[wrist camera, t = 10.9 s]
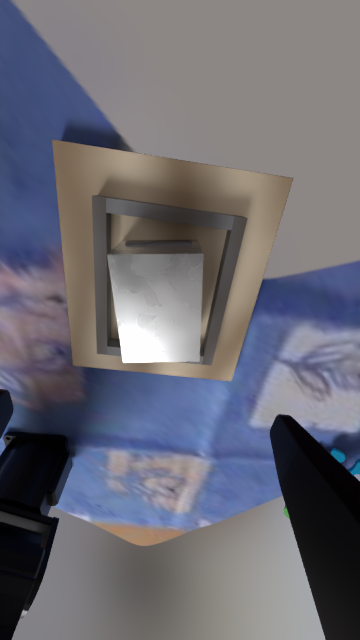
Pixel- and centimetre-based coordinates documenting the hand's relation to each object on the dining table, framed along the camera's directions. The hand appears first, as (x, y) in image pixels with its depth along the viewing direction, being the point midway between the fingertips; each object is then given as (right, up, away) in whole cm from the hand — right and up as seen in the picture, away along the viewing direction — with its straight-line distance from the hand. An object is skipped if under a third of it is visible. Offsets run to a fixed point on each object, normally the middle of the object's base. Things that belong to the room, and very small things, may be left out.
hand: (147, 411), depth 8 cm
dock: (0, +6, +10) cm, 12 cm away
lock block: (0, +5, +10) cm, 11 cm away
